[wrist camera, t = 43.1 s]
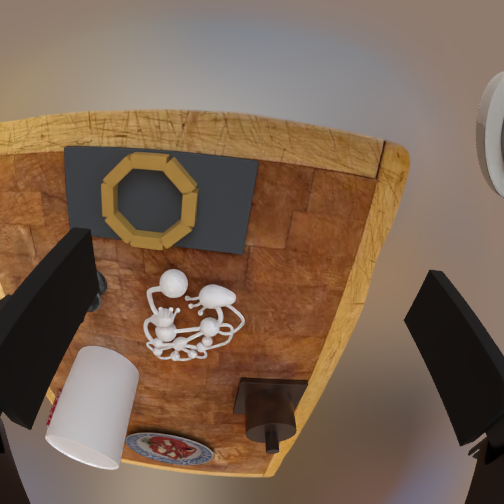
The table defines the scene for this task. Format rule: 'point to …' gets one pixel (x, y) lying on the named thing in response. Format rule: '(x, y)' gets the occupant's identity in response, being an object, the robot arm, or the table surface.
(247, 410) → the stand
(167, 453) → the ceramic plate
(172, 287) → the tangled rod sculpture
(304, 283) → the table surface
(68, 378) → the canister
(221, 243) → the mat
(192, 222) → the ring
